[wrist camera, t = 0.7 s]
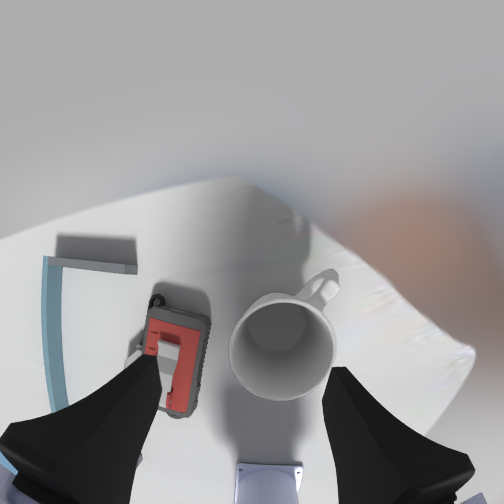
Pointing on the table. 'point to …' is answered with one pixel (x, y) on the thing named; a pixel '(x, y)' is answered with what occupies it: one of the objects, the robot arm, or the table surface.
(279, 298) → the mug
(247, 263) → the table surface
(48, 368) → the tray
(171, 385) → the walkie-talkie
